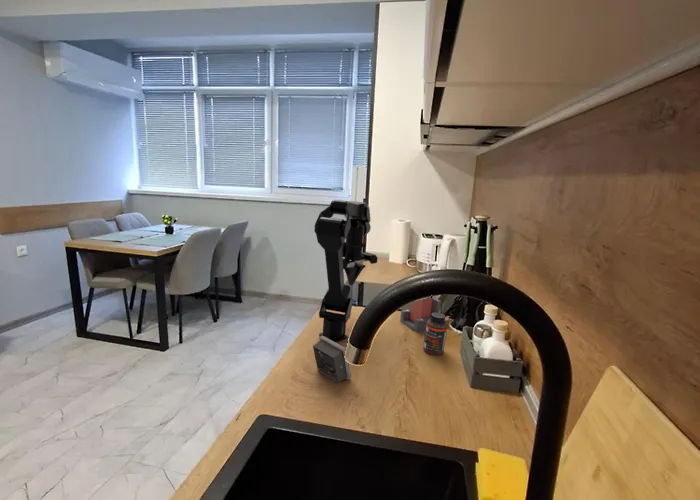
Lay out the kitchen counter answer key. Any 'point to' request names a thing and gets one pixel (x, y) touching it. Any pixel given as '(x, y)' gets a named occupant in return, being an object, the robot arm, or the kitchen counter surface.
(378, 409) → the kitchen counter surface
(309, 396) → the kitchen counter surface
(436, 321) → the supplement bottle
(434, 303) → the housing
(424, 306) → the pink block with dome
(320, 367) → the electrical switch
